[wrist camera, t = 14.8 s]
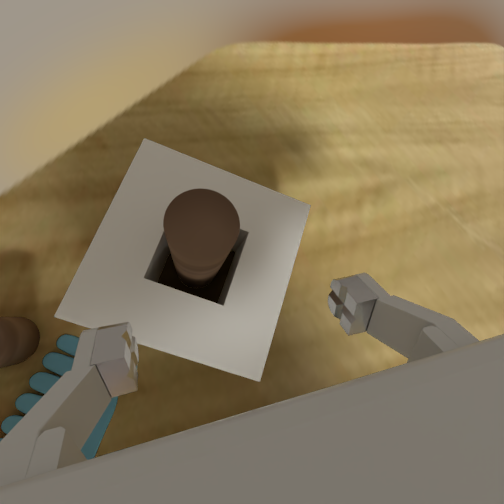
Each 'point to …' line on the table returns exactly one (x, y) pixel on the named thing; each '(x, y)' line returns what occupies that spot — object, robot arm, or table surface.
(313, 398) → the robot arm
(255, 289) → the hole block
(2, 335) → the short pin
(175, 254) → the long pin
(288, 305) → the table surface
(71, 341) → the blue yellow bird figure
